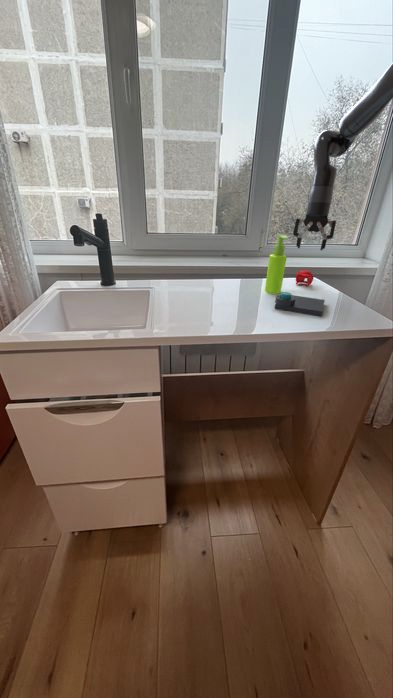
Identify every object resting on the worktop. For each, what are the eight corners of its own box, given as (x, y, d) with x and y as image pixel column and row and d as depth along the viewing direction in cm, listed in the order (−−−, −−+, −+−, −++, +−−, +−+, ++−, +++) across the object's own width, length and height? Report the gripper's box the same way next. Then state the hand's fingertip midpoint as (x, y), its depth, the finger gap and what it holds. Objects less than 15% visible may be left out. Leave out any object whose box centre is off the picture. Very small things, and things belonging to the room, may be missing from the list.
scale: (323, 304, 96) (326, 294, 94) (321, 317, 86) (323, 306, 84) (279, 298, 101) (281, 288, 99) (272, 309, 91) (274, 298, 89)
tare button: (291, 298, 91) (292, 292, 91) (289, 300, 89) (290, 295, 88) (281, 296, 92) (282, 291, 92) (279, 299, 90) (280, 294, 89)
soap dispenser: (268, 294, 104) (276, 236, 94) (262, 289, 110) (270, 233, 100) (283, 294, 104) (294, 236, 94) (277, 289, 110) (286, 233, 100)
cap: (292, 282, 119) (294, 267, 116) (306, 282, 119) (309, 267, 116) (298, 287, 112) (301, 272, 109) (313, 288, 112) (317, 272, 109)
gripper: (297, 200, 101) (289, 248, 108) (341, 201, 96) (329, 252, 103) (300, 200, 107) (292, 246, 114) (341, 201, 102) (330, 249, 109)
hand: (310, 249), depth 109 cm, fingers open, 8 cm apart
